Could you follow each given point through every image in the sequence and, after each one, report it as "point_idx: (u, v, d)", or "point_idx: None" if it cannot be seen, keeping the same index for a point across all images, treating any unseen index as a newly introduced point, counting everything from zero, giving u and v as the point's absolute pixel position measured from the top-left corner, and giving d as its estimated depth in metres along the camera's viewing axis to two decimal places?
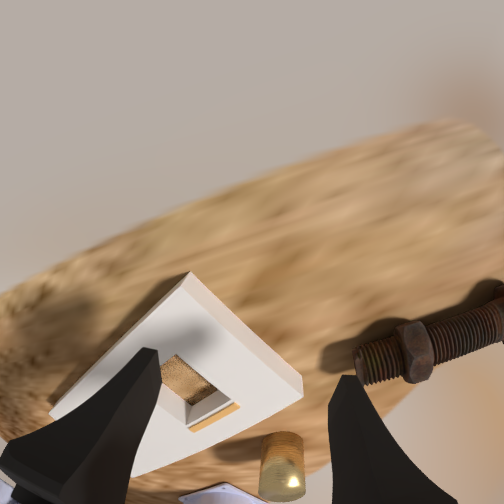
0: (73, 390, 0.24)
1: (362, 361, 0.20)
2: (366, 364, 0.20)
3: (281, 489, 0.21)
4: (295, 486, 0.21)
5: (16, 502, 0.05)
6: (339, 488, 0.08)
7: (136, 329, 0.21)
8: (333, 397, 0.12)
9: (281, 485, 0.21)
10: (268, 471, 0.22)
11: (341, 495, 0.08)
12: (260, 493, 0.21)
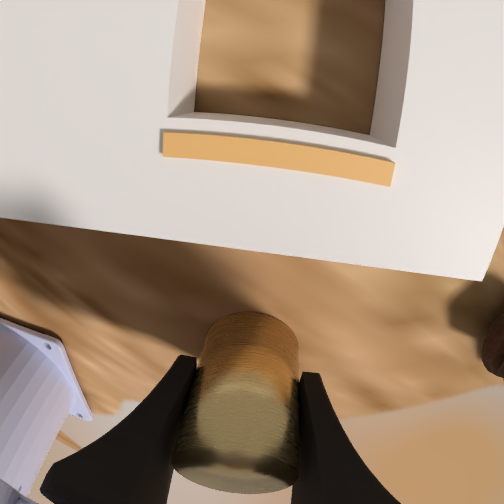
0: None
1: None
2: None
3: (247, 470, 0.08)
4: (284, 478, 0.08)
5: (16, 502, 0.05)
6: (296, 488, 0.09)
7: None
8: None
9: (268, 464, 0.08)
10: (249, 407, 0.09)
11: (297, 495, 0.08)
12: (185, 453, 0.08)
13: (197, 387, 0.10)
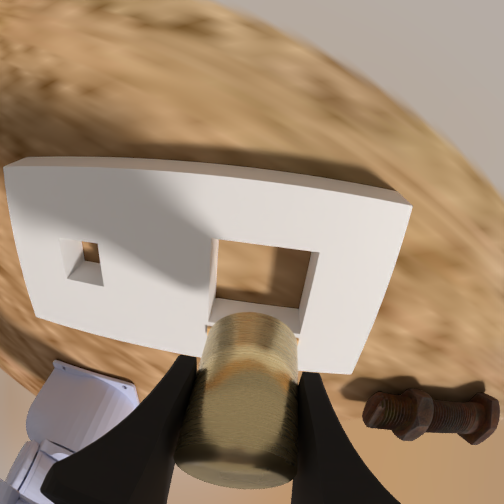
0: (93, 169, 0.15)
1: (382, 410, 0.22)
2: (384, 414, 0.22)
3: (247, 466, 0.08)
4: (283, 473, 0.08)
5: (16, 502, 0.05)
6: (296, 488, 0.09)
7: (315, 190, 0.15)
8: None
9: (267, 461, 0.08)
10: (248, 405, 0.09)
11: (297, 495, 0.08)
12: (187, 450, 0.08)
13: (198, 386, 0.10)
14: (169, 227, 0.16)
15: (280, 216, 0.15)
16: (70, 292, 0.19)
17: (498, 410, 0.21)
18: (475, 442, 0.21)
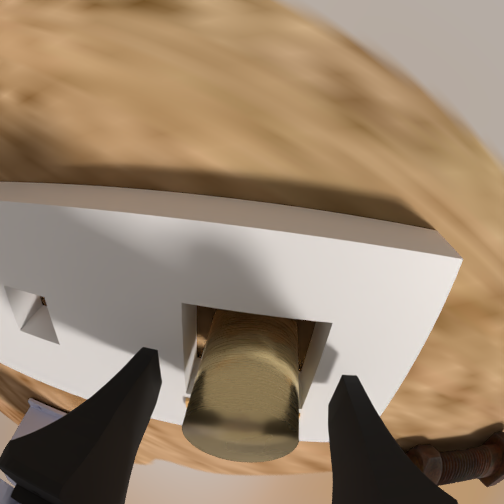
0: (26, 206, 0.10)
1: None
2: None
3: (252, 433, 0.09)
4: (286, 441, 0.09)
5: (16, 502, 0.05)
6: (339, 488, 0.08)
7: (331, 241, 0.10)
8: (333, 397, 0.12)
9: (271, 426, 0.09)
10: (252, 373, 0.10)
11: (341, 495, 0.08)
12: (195, 416, 0.09)
13: (206, 359, 0.11)
14: (125, 286, 0.11)
15: (278, 277, 0.11)
16: (27, 344, 0.14)
17: None
18: (491, 484, 0.17)
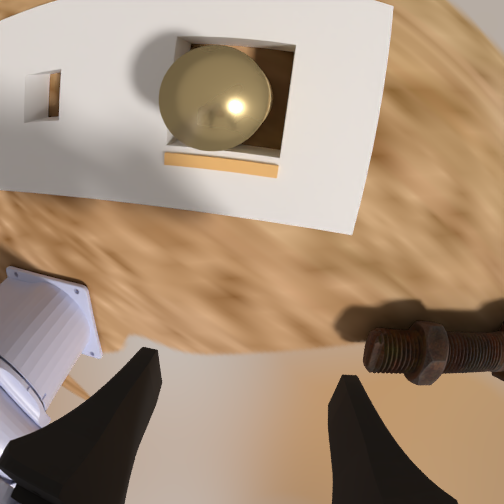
0: None
1: (381, 347, 0.19)
2: (385, 351, 0.19)
3: (223, 84, 0.10)
4: (256, 97, 0.10)
5: (16, 502, 0.05)
6: (339, 488, 0.08)
7: None
8: (333, 397, 0.12)
9: (240, 69, 0.10)
10: None
11: (341, 495, 0.08)
12: (174, 67, 0.10)
13: None
14: (135, 32, 0.12)
15: (250, 8, 0.11)
16: (25, 142, 0.15)
17: None
18: None
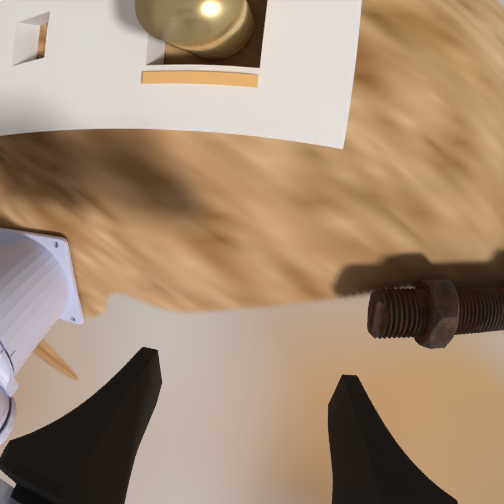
0: None
1: (384, 307, 0.18)
2: (388, 312, 0.18)
3: None
4: None
5: (16, 502, 0.05)
6: (339, 488, 0.08)
7: None
8: (333, 397, 0.12)
9: None
10: None
11: (341, 495, 0.08)
12: None
13: None
14: None
15: None
16: (11, 85, 0.13)
17: None
18: None
